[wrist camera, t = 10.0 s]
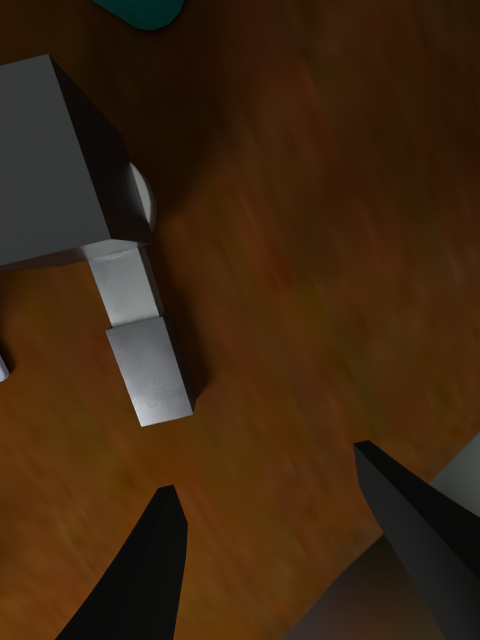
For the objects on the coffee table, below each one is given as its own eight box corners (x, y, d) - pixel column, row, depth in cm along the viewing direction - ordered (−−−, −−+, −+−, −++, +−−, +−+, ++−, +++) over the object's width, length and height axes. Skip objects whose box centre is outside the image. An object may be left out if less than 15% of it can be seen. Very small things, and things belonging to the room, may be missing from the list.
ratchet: (212, 395, 20) (207, 438, 15) (134, 413, 20) (106, 462, 15) (139, 143, 15) (102, 95, 11) (40, 166, 16) (-39, 130, 11)
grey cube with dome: (154, 244, 15) (111, 239, 10) (60, 266, 15) (-38, 274, 10) (121, 135, 14) (48, 53, 8) (18, 160, 14) (-126, 97, 8)
